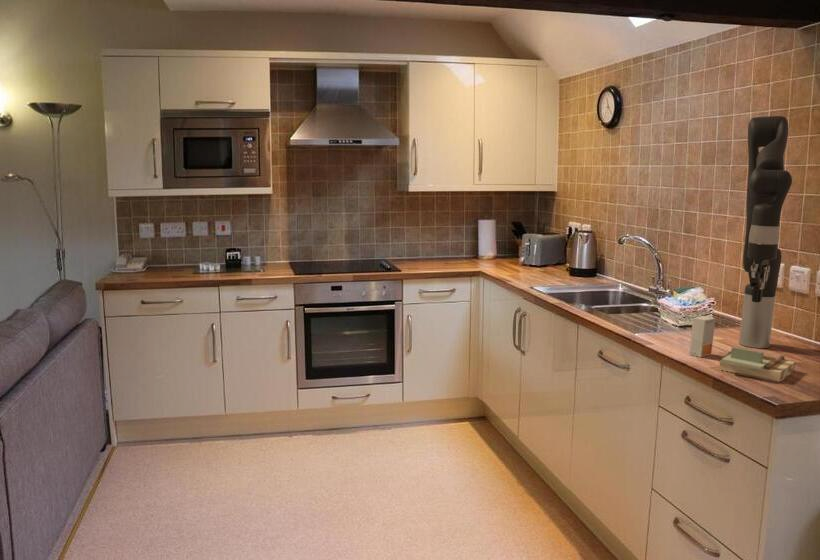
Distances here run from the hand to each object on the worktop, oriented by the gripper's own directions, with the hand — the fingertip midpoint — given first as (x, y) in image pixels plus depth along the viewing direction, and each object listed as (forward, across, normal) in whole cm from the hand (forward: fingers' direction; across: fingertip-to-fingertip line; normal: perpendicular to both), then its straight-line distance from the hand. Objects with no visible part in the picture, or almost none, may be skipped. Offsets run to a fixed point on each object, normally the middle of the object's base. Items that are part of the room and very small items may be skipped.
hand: (756, 301), depth 198 cm
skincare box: (+21, -8, -17) cm, 28 cm away
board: (+21, -3, +1) cm, 21 cm away
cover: (+17, +3, 0) cm, 18 cm away
